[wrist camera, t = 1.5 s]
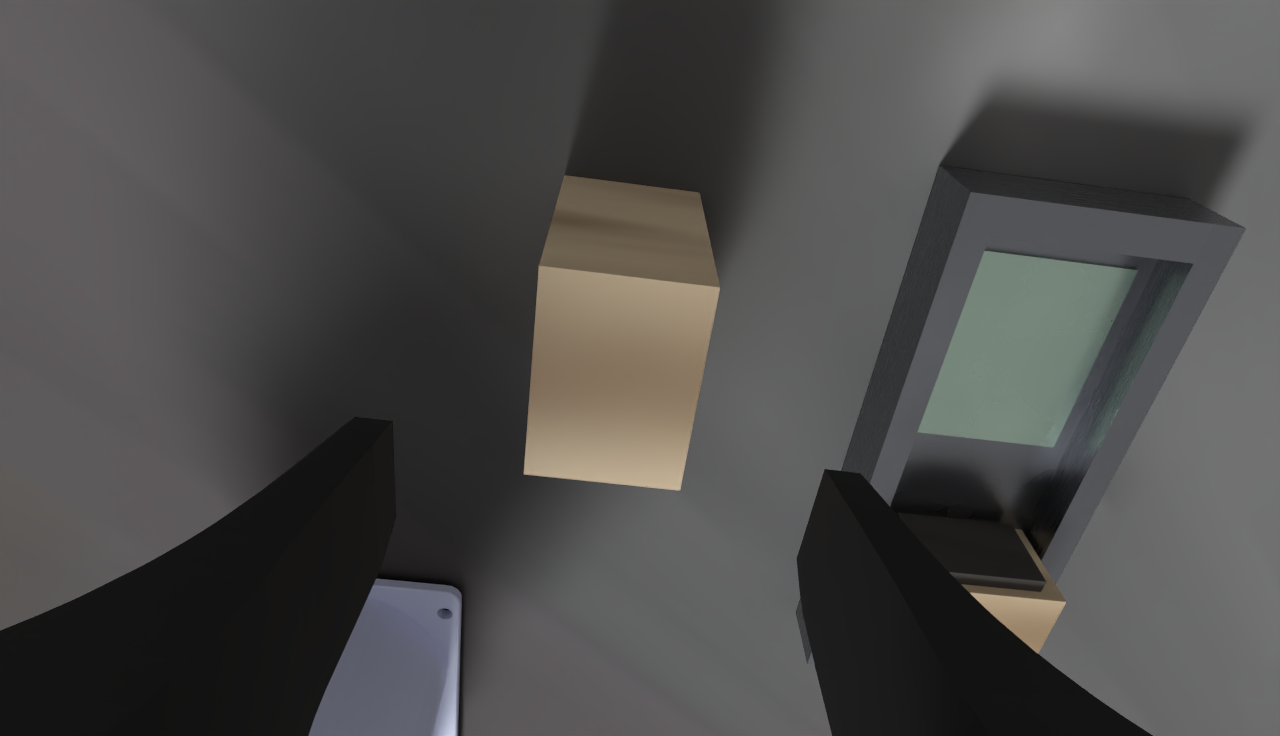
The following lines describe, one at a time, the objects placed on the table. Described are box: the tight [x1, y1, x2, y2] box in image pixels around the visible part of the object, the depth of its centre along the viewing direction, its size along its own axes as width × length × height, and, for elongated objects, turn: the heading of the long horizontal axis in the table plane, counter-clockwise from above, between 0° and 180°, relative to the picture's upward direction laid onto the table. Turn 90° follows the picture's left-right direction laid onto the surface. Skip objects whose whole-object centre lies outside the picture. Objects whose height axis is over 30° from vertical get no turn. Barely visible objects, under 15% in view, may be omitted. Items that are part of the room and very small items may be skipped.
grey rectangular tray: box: [796, 165, 1246, 665], centre depth 23 cm, size 16×7×2 cm, turn 173°
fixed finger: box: [897, 513, 1066, 653], centre depth 24 cm, size 4×5×3 cm
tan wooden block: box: [524, 175, 720, 490], centre depth 19 cm, size 5×4×6 cm, turn 173°
